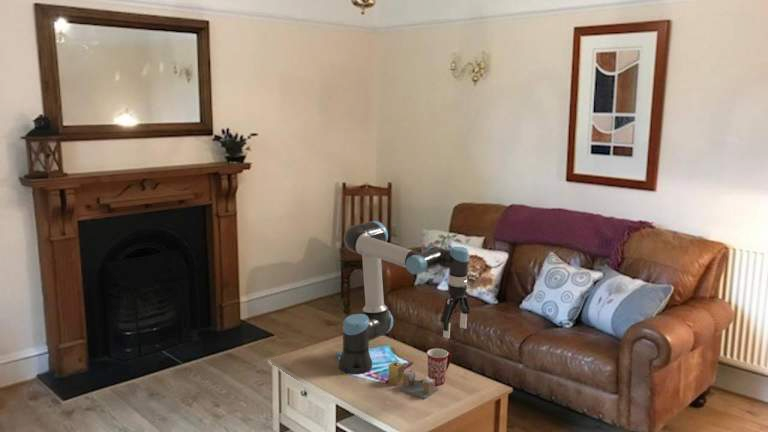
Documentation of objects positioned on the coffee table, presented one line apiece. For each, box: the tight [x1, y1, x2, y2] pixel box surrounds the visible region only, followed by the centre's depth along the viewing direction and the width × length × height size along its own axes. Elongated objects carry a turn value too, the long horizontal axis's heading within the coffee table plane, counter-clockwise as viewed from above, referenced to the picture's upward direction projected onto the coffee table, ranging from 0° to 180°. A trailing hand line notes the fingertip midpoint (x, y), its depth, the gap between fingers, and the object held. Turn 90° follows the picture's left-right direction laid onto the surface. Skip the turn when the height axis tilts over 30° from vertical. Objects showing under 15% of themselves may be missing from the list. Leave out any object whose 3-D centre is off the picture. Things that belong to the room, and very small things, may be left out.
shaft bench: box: [398, 370, 439, 400], centre depth 269 cm, size 13×10×7 cm
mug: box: [426, 348, 452, 386], centre depth 277 cm, size 13×9×14 cm
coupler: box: [387, 360, 405, 386], centre depth 276 cm, size 5×4×8 cm
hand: (454, 332), depth 267 cm, fingers open, 13 cm apart
